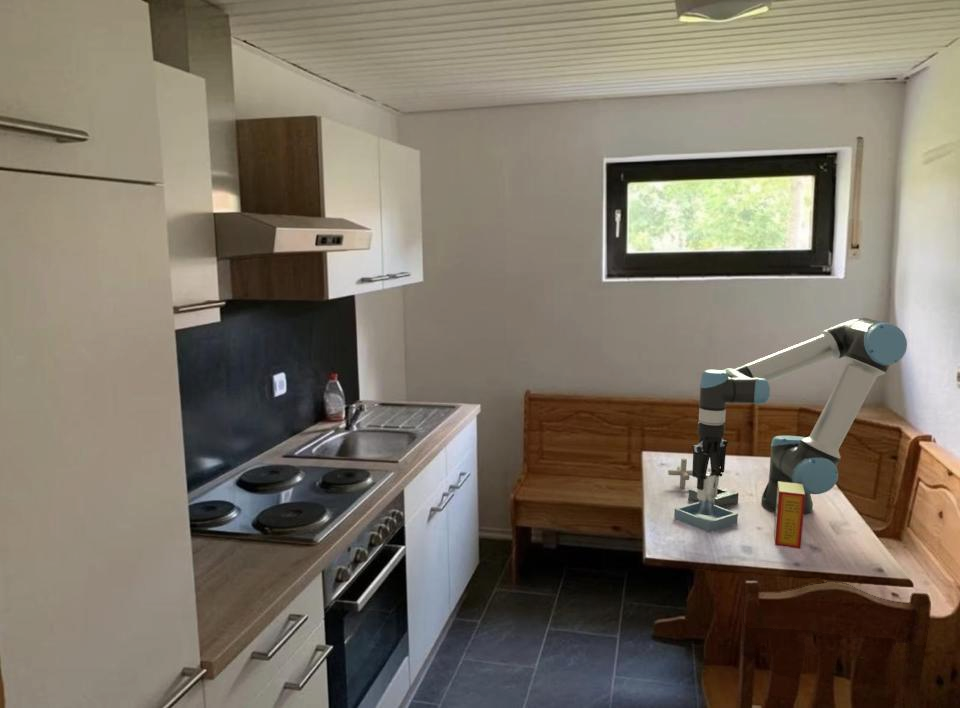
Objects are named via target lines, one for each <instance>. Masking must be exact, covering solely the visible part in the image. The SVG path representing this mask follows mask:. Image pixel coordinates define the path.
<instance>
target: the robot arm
mask: <svg viewBox="0 0 960 708" xmlns="http://www.w3.org/2000/svg"><path fill="white" fill-rule="evenodd" d="M907 349H908V341H907V338H906V335H905V332H904V331H903V330H902V329H901V328H900V327H898V326H897V325H895V324H892V323H890V322H887V321H884V320H882V321H881V320H876V319H871V318H866V317H859V318H854V319H850V320H848V321H845V322H842V323H839V324H836V325H835V326H833V327H832V326H831V327H830V328H827V329H824V330H823V331H822V332H821V334H820V335H818V336H816V337H815V336H814V337H813V338H811V339H808V340H806V341H803V342H800V343H798V344H795V345H793V346H789V347H788V348H785V349H783V350H780V351H777V352H774V353H772V354H769V355H767V356H765V357H761V358H759V359H756V360H754V361H752V362H749V363H747V364H744V365H742V366H738V367H735V368H733V367H731V368H729V367H728V368H724V369H722V370H721V369H706V370H704V371H702V372H701V377H700V384H699V404H698V405H699V406H698V407H699V410H698V423H697V435H698V436H699V441H698V444H696V445H695V444H692V446H691V449H692V477H693V478H696V480H697V481H696V487H697V498H698V499H700V500H703V501H706V491H707V479H705V477H706V472H707V471H708V466H709V464H710V473H714V474H715V475H716V481H715V498H716V497H717V488H718V486H719V480H720V477H722V476H723V474H724V472H725V467H726V455H727V454H726V453H727V447H728V444H729V443H728V440H724V439H723V437H724V436H725V429H726V427H725V426H726V425H725V424H724V423H725V422H726V412H727V404H754V405H757V404H758V405H759V404H766V403H767V402H768V401H769V399H770V393H771V388H770V382H772V381H774V380H777V379H780V378H783V377H785V376H787V375H790V374H793V373H795V372H799V371H801V370H803V369H806V368H808V367H811V366H814V365H815V364H818V363H822V362H824V361H827V360H830V359H833V360H838V359H842V358H844V359H845V360H844V361H845V363H846V365H845V367H844V368H843V371H842V372H841V375H840V377H839V378H838V380H837V383H836V384H835V386H834V388H833V389H832V391H831V394H830V396H829V398H828V400H827V402H826V404H825V406H824V408H823V409H822V412H821V413H820V414H819V415H820V416H819V417H818V418H817V421H816V423H815V424H814V427H813V428H812V431H811V432H810V435H809V436H807V437H805V436H798V435H797V436H796V435H777V436H774V437H773V438H772V440H771V445H770V456H769V457H770V459H769V476H768V482H767V484H766V486H765V489H764V491H763V492H762V496H761V501H760V502H761V506H763V508H765V509H767V510H769V511H771V512H775V513H776V500H777V487H778V481H781V482H790V483H798V484H803V488H804V492H805V501H804V513H803V516H805V515H808V514H811V513H812V512H813V506H814V504H813V503H814V501H813V499H812V496H811V495H821V494H825V493H827V492H829V491H830V490H832V489H833V487H834V486H836V485H837V482H838V479H839V471H838V467H837V465H838V464H839V461H840V460H841V457H842V456H841V454H840V452H839V449H840V447H841V445H842V444H843V442H844V439H845V438H846V436H847V435H848V432H849V431H850V429H851V428H852V427H851V426H852V424H853V423H854V421H855V419H856V417H857V415H858V413H859V412H860V410H861V408H862V406H863V405H864V402H865V400H866V398H867V396H868V394H869V393H870V391H871V389H872V387H873V386H874V384H875V381H876V380H877V378H878V377H879V376H883V375H886V373H887V372H888V369H889V368H890V365H894V364H895V363H898V362H900V361H901V359H902V358H903V357H904V356H905V354H906V351H907Z"/></svg>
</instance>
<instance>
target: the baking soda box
mask: <svg viewBox="0 0 960 708" xmlns="http://www.w3.org/2000/svg"><path fill="white" fill-rule="evenodd" d="M804 501H805V492H804V488H803V484H798V483H790V482H781V481H778V487H777V500H776V512H775V514H774V515H775V516H774V526H773V527H774V529H773V539H774V546H779V547H785V548H786V547H787V548H791V549H798V550H799V549H801V548H802V546H801V545H802V533H803V522H804V515H803V513H804Z"/></svg>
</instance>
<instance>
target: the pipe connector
mask: <svg viewBox="0 0 960 708" xmlns="http://www.w3.org/2000/svg"><path fill="white" fill-rule="evenodd" d="M680 459H681V460H680V465H678V466H677V468H676V469H668V470H667V471H668V472H667V475H668V476H680V477H679V488H682V489H685V488H686V483H687V481H689V480H690V479H691V478H690V476H692V470H693V469H692V470H690V469H687V463H688V461H687V460H688V459H687V458H685V457H682V458H680ZM692 477H693V476H692Z"/></svg>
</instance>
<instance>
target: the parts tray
mask: <svg viewBox="0 0 960 708" xmlns="http://www.w3.org/2000/svg"><path fill="white" fill-rule="evenodd" d="M698 508H699V502H693V503H689V504H685V505H683V506H678V507H676V508H674V514H673V515H674V517H673V519H674V520H677V521H679V522H681V523H684V524H686V525H688V526H691V527H694V528H696V529H698V530H701V531H703V532H705V533H709V534H710V533H713V532H716V531H719V530H722V528H723V529H725V527H726V528H728V527H731V526H735V525H737V524H738V521H739V519H738V518H739V513H737V512H735V511H733V510H729V509H727V508H725V507H723V508H722V507H719V506H716V505H714V513H713V515H702V514H700V513H699V512H698Z"/></svg>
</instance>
